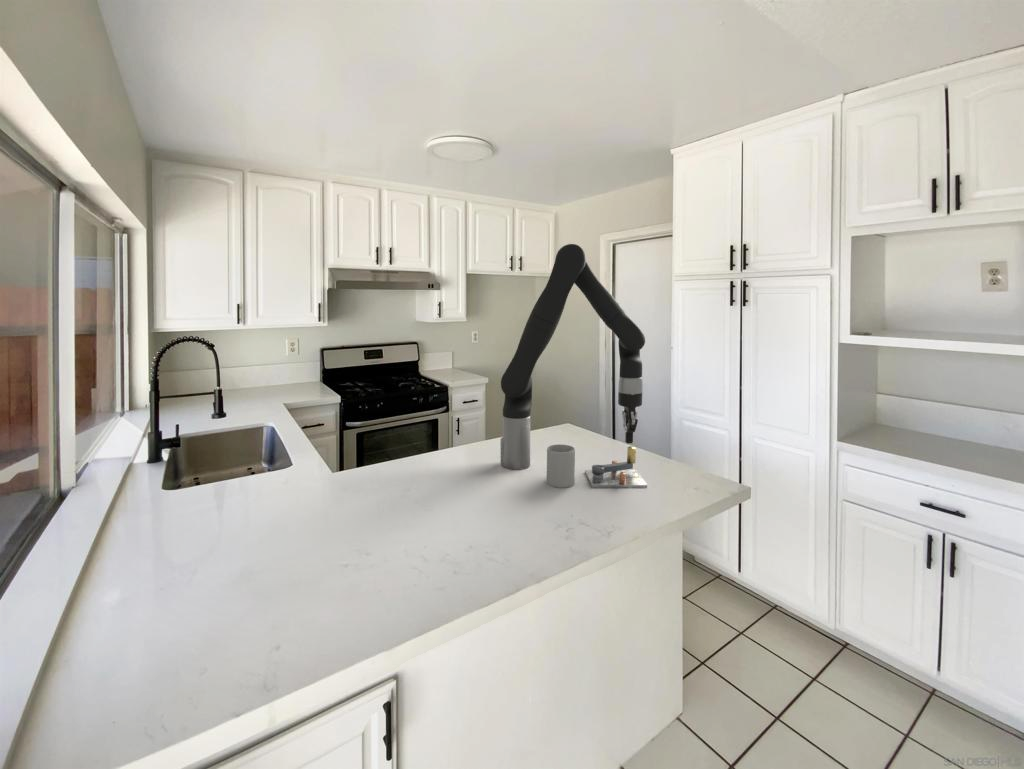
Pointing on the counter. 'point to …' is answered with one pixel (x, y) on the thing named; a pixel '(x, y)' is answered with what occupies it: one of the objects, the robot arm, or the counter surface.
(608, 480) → the crank base
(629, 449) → the crank lever
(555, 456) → the mug
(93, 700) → the counter surface
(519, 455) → the robot arm
